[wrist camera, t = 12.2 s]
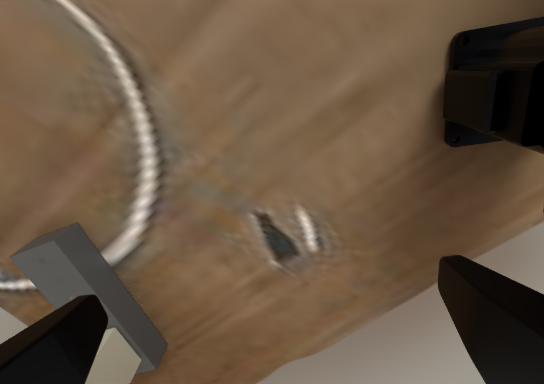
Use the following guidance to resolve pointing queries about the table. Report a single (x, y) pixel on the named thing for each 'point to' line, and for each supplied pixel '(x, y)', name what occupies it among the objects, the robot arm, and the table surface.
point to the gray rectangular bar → (89, 287)
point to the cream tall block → (113, 361)
